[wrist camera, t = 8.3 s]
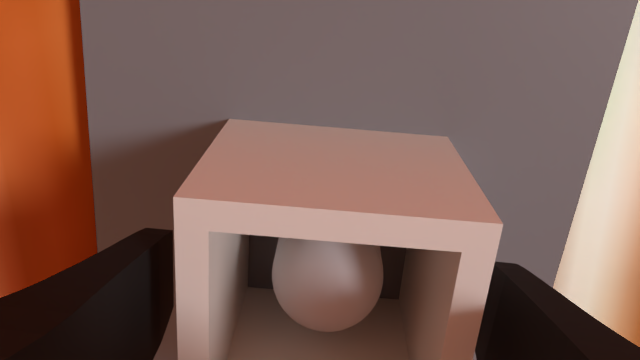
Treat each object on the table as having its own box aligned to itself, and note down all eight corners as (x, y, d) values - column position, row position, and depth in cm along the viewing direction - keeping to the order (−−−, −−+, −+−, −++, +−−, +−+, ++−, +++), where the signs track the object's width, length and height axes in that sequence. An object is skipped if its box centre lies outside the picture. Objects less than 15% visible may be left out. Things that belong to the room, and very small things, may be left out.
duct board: (657, -114, 12) (817, -155, 8) (489, 467, 19) (530, 604, 15) (79, -172, 12) (-51, -242, 8) (118, 432, 19) (58, 559, 15)
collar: (447, 136, 14) (502, 223, 9) (416, 318, 16) (448, 464, 11) (229, 119, 14) (173, 197, 9) (227, 302, 16) (180, 442, 11)
